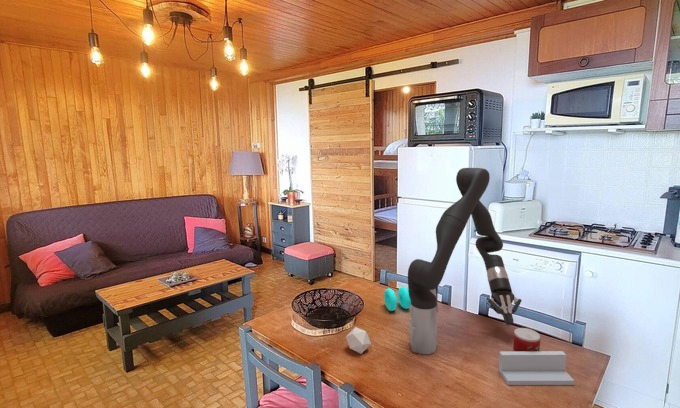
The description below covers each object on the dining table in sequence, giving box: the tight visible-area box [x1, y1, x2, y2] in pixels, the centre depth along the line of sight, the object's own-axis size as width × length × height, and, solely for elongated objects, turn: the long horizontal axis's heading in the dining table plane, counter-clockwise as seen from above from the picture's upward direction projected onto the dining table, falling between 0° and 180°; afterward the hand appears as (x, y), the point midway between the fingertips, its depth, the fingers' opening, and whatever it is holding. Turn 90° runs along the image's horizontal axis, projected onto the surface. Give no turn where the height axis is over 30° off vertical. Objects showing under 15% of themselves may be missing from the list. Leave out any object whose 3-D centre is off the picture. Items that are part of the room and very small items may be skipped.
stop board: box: [498, 350, 575, 386], centre depth 114 cm, size 20×7×7 cm, turn 87°
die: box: [345, 326, 372, 355], centre depth 133 cm, size 8×9×10 cm
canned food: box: [512, 327, 541, 351], centre depth 121 cm, size 8×8×11 cm
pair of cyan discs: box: [383, 286, 411, 312], centre depth 165 cm, size 10×10×10 cm
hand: (509, 324), depth 133 cm, fingers closed
